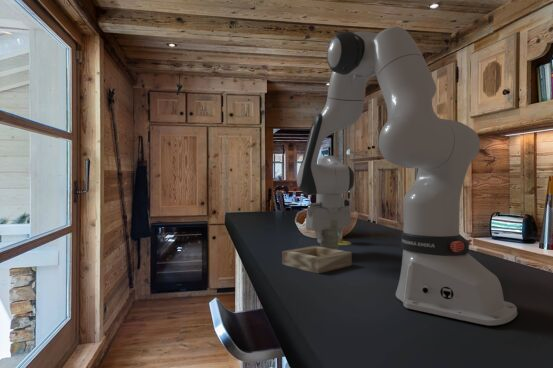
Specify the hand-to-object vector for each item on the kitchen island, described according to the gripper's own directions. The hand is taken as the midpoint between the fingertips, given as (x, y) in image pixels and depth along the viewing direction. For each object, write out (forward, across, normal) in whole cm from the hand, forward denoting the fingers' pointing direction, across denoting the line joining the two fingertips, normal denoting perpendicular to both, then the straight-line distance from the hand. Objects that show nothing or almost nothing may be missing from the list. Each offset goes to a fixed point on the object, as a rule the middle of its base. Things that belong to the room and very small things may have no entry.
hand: (328, 241), depth 124 cm
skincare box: (+5, 0, 0) cm, 5 cm away
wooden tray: (+4, -15, -8) cm, 18 cm away
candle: (+5, +20, +12) cm, 24 cm away
